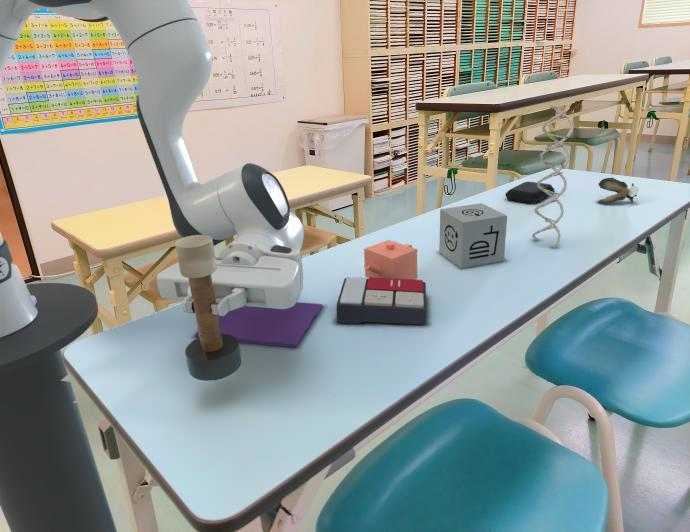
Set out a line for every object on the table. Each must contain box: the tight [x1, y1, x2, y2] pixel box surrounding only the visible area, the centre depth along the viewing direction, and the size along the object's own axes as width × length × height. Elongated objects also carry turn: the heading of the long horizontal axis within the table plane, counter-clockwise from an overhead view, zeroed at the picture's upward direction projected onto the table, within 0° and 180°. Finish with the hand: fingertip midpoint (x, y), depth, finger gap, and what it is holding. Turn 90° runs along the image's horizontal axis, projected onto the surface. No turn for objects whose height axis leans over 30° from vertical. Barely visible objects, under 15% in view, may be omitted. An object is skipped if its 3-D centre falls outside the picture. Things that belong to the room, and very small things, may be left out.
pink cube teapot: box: [363, 239, 418, 280], centre depth 101 cm, size 8×12×8 cm, turn 130°
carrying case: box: [504, 181, 556, 204], centre depth 151 cm, size 11×3×15 cm
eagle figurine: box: [597, 177, 640, 205], centre depth 142 cm, size 8×7×9 cm
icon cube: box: [438, 202, 508, 270], centre depth 111 cm, size 10×10×10 cm
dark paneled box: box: [336, 276, 427, 326], centre depth 92 cm, size 11×4×15 cm
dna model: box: [531, 104, 574, 249], centre depth 112 cm, size 7×6×30 cm
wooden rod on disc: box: [174, 235, 243, 382], centre depth 67 cm, size 7×7×18 cm
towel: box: [194, 301, 323, 348], centre depth 91 cm, size 18×14×1 cm
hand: (201, 309), depth 66 cm, fingers closed on wooden rod on disc, 3 cm apart
